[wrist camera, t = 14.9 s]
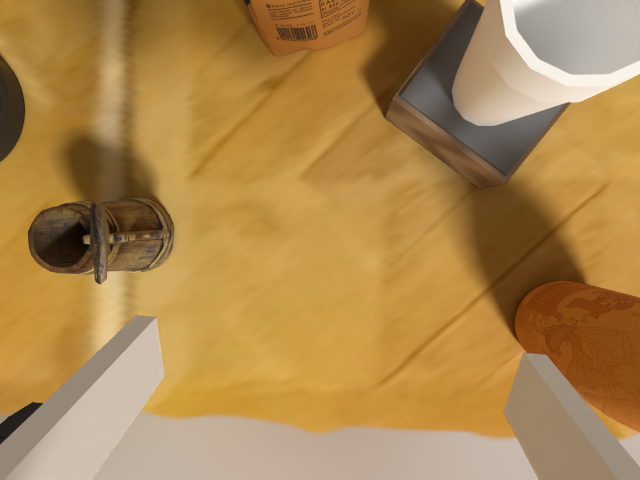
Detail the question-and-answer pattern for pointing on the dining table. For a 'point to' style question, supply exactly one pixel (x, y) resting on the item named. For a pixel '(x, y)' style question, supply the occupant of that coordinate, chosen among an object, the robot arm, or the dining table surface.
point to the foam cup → (545, 56)
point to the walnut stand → (446, 122)
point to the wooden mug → (101, 237)
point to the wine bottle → (588, 342)
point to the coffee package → (307, 23)
